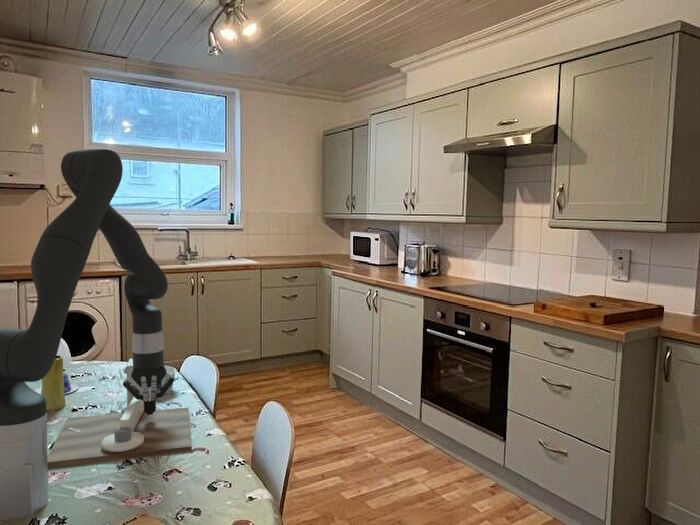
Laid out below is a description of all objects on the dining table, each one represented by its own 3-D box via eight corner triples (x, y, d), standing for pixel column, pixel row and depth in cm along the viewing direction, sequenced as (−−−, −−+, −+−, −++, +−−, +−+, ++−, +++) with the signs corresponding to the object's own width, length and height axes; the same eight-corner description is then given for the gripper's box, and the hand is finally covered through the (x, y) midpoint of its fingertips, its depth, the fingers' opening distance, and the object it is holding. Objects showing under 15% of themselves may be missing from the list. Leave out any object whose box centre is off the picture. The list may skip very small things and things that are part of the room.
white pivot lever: (140, 450, 118) (139, 428, 118) (96, 453, 117) (96, 430, 116) (158, 408, 144) (158, 390, 144) (123, 410, 143) (123, 391, 142)
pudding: (65, 398, 156) (65, 381, 156) (25, 398, 156) (24, 380, 156) (85, 386, 168) (85, 369, 168) (47, 385, 168) (47, 369, 168)
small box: (129, 402, 154) (129, 358, 153) (152, 400, 156) (152, 357, 155) (126, 411, 146) (126, 365, 145) (151, 410, 148) (150, 364, 147)
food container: (135, 387, 167) (135, 367, 167) (175, 384, 171) (175, 364, 171) (135, 400, 156) (134, 378, 155) (177, 396, 160) (177, 374, 160)
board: (191, 452, 122) (191, 445, 122) (44, 469, 113) (44, 462, 112) (188, 412, 147) (188, 407, 147) (67, 423, 137) (67, 417, 137)
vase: (54, 412, 145) (53, 361, 144) (35, 410, 146) (34, 359, 145) (70, 404, 151) (69, 355, 150) (52, 402, 152) (50, 354, 151)
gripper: (118, 354, 129) (121, 422, 131) (175, 350, 133) (177, 416, 135) (121, 346, 136) (124, 410, 138) (175, 342, 140) (177, 405, 142)
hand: (150, 413), depth 137 cm, fingers closed
